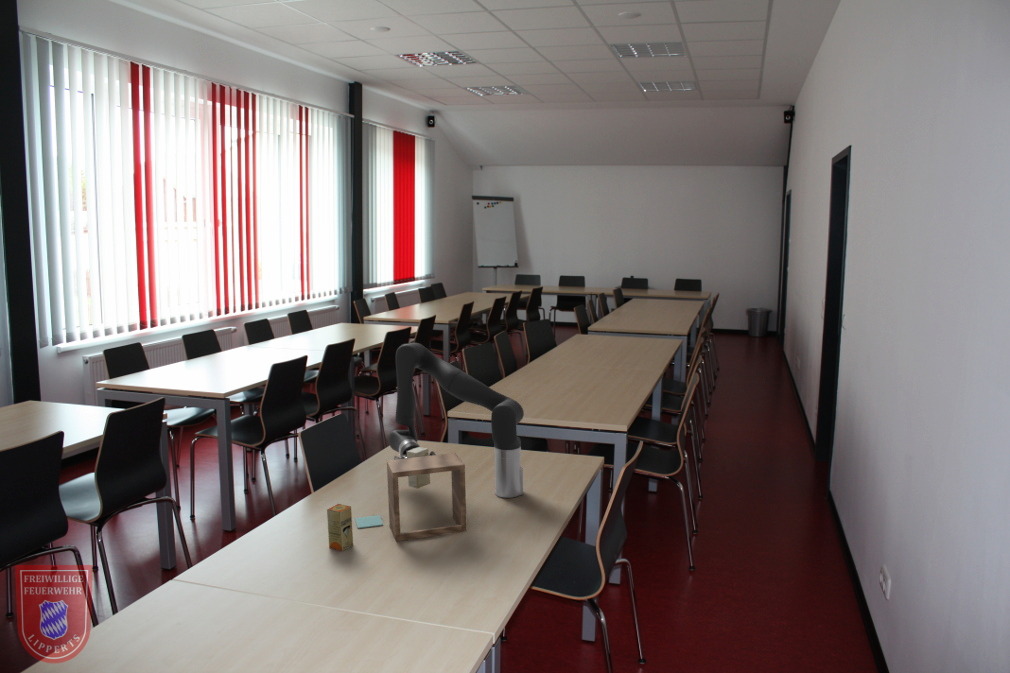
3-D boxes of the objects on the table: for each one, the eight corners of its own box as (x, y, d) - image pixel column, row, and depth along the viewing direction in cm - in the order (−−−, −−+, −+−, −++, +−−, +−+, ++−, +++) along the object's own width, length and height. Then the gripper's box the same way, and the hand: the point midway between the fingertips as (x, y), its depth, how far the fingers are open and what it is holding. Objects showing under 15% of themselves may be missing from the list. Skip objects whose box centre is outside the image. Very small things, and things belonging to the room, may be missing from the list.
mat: (379, 516, 238) (379, 514, 238) (383, 525, 231) (383, 524, 231) (355, 519, 236) (355, 518, 236) (357, 528, 229) (357, 527, 228)
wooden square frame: (457, 516, 237) (455, 452, 234) (466, 531, 226) (464, 464, 222) (389, 525, 230) (386, 460, 227) (395, 541, 219) (392, 472, 216)
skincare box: (417, 489, 236) (415, 453, 234) (408, 486, 239) (405, 451, 237) (431, 483, 241) (429, 448, 239) (421, 481, 243) (419, 446, 242)
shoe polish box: (329, 547, 215) (327, 509, 214) (340, 541, 220) (338, 503, 218) (342, 551, 213) (340, 512, 211) (353, 544, 217) (351, 506, 216)
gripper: (389, 444, 250) (397, 458, 234) (430, 439, 254) (440, 452, 238) (390, 465, 251) (398, 480, 235) (431, 459, 255) (441, 474, 239)
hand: (419, 466), depth 237 cm, fingers closed on skincare box, 7 cm apart
